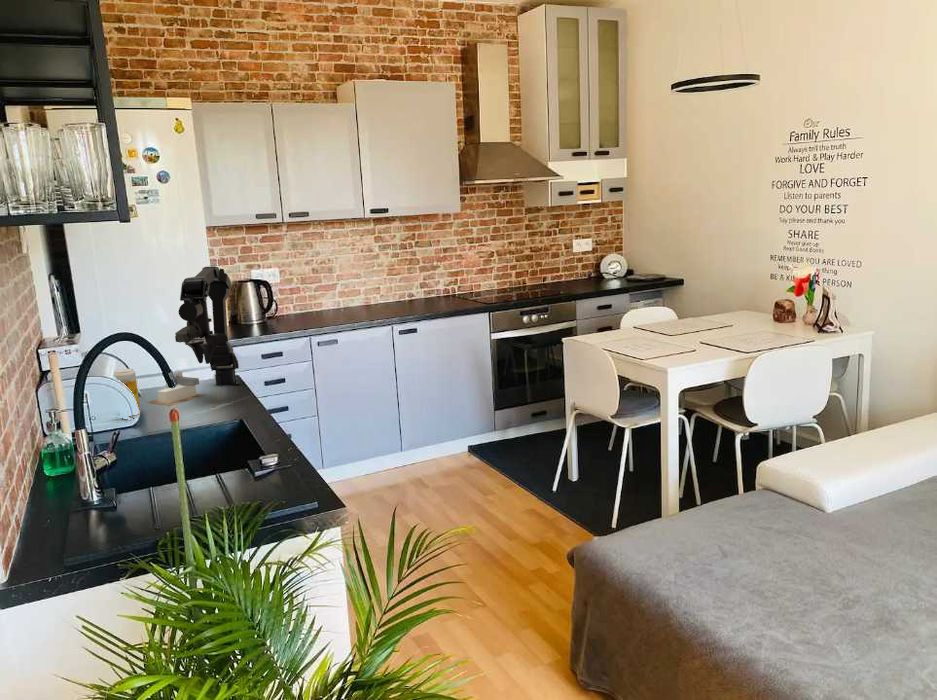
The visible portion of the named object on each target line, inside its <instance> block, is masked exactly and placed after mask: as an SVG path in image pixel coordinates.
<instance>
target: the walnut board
mask: <svg viewBox="0 0 937 700" xmlns="http://www.w3.org/2000/svg"><path fill="white" fill-rule="evenodd" d="M204 396H206V394H201V393H196V396H192V397H189V398H186V399H182V400H179V401H175V402H172V403H169V404H163V403H159V400H158V398H157V399H153V400H149V401H146V402H145V404H150V405H158V406H166V407H171V406H175V405H177V404H182V403H184V402H188V401H190V400H195V399H198V398H201V397H204Z"/></svg>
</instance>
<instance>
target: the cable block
mask: <svg viewBox="0 0 937 700" xmlns="http://www.w3.org/2000/svg"><path fill="white" fill-rule="evenodd" d="M176 386H177V385H176ZM196 386H197V385H195V386H191V385H183V384H181V385H178V386H177V387H176V388H175V389H171V388H164V389H159V390H157V391H156V393H157V399H158V400H159V403H163V404H169V403H172V402H175V401H179V400H182V399H186V398H189V397H192V396H196V394H197V388H196Z"/></svg>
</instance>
